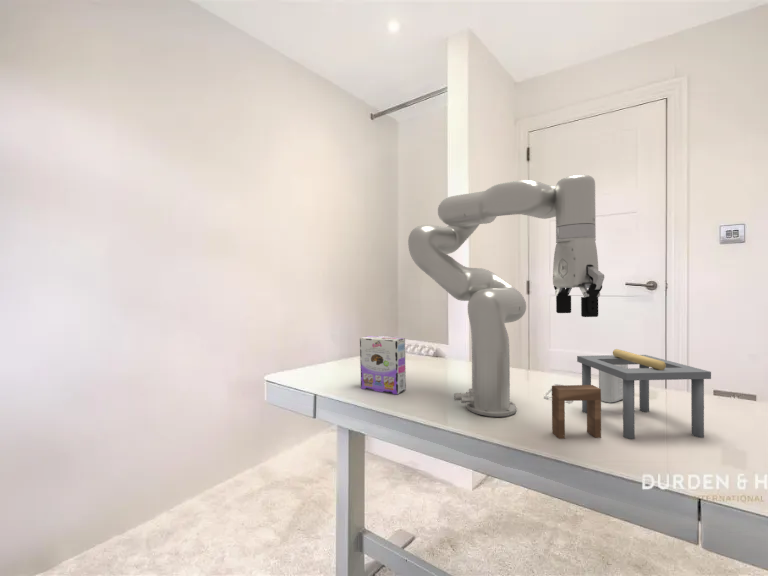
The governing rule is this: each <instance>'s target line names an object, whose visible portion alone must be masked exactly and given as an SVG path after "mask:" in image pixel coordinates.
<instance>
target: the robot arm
mask: <svg viewBox="0 0 768 576" xmlns="http://www.w3.org/2000/svg"><path fill="white" fill-rule="evenodd" d="M437 215H438V217H439V220H440V221H441V222H442V223H444V224H446V225H447V226H439V225H433V224H422V225H419V226H416V227H414V228H413V229H412V230H411V231H410V232H409V235H408V240H407V245H408V252H409V254H410V257H411V260H412V261H413V262H414V264H415V265H416V266H417V267H418V268H419V269H420V270H421V271H423V272H424V274H426V275H428V277H430V278H431V279H432V280H433V281H434V282H435V283H437V284H438V286H440V287H441V288H442V289H443V290H444V291H446V292H447V293H448V294H449V295H451V297H452V298H454V299H456V301H460V302H461V301H463V302H467V315H468V319H469V326H470V334H471V337H470V338H471V388H468V391H466V392H465V393H462V392H456V393H454V394H453V399H454V401H455V402H456V401H457V402H458V401H460V402H461V403H463V404H464V403H465V406H466V408H467V410H468V411H470V412H471V413H473V414H477V415H481V416H485V417H493V418H499V417H501V418H502V417H510V416H513V415H514V414H515V413H516V412H517V405H516V404H515V403H514V402H512V401H511V398H510V397H511V393H510V392H511V389H510V388H511V387H510V386H511V384H510V379H511V374H510V373H511V371H510V370H511V369H510V368H511V366H510V364H511V363H510V362H511V361H510V359H511V358H510V357H511V356H510V338H509V334H508V331H507V328H506V324H509V323H514V322H516V321H519V320H520V319H522V318H523V316H524V315H525V313H526V311H527V303H526V299H525V297H524V295H523V293H521V292H520V291H519V290H518V289H516V288H515V287H514V286H513V285H511V284H510V283H508V282H507V281H506V280H504V279H502V277H500V276H499V275H497V274H496V273H494V272H492V271H491V270H489V269H486V268H482V267H481V268H480V267H479V268H478V267H467V266H466V265H463V264H461V263H460V262H458V261H457V260H455V259H454V258H453V257H452V256H450V255H448V254H452V253H455V252H457V250H459V248H460V247H462V245H463V244H464V243H465V242H466V241H467V240H468V239H469V238H470V237H471V235H472V234H473V233H474V232H475V231H476V230H477V228H478V227H479V226H480V225H483V224H485V225H487V224H491V223H492V222H494V221H495V219H497V217H501V216H512V215H513V216H515V215H524V216H529V217H531V218H533V217H534V218H537V219H543V220H546V219H551V218H552V219H553V218H555V247H554V253H553V263H552V264H553V266H552V285H553V288H554V290H555V292H554V295H555V301H556V302H555V309H556V310H555V311H556V313H557V314H570V313H572V295H570V293H571V291H572V289H573V288H579V290H580V291H581V294H582V296H581V297H580V309H581V310H580V314H581V315H580V316H581V317H582V318H596V317H597V318H598V317H599V298H600V296H601V290H602V289H603V282H604V280H605V274H604V273H603V272H601V271H599V260H598V259H599V258H598V257H599V256H598V249H597V243H596V240H597V238H596V237H597V236H596V235H597V234H596V233H597V232H596V227H597V226H596V180H595V178H594V177H593V176H591V175H587V174H574V175H569V176H565V177H563V178H561V179H559V180H558V181H557V183H556V184H555V185H552V184H551V185H550V184H545V183H543V182H540V181H537V180H533V179H520V180H515V181H509V182H508V181H507V182H503V183H498V184H494V185H493V186H491V187H489V188H487V189H485V190H482V191H477V192H470V193H463V194H458V195H452V196H447V197H446V198H444V199H443V200H442V201H440V203H439V205H438V206H437Z"/></svg>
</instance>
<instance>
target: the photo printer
mask: <svg viewBox="0 0 768 576" xmlns="http://www.w3.org/2000/svg"><path fill="white" fill-rule="evenodd" d="M616 366H619V367H622V368H625V369H629V364H628V365H616ZM598 388H600V389H601V402H604V403H610V404H612V403H616V402H619V401H623V379H621V378H619V377H616V376H613V375H611V374H608V373H606V372H603V371H600V370H598Z"/></svg>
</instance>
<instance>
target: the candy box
mask: <svg viewBox="0 0 768 576" xmlns="http://www.w3.org/2000/svg"><path fill="white" fill-rule="evenodd" d="M359 359H360V360H359V361H360V362H359V363H360V365H359V368H360V389H362V390H369V391H374V392H379V393H385V394H392V395H399V394H401V393H403V392H405V391H406V390H407V384H406V379H407V378H406V377H407V376H406V375H407V374H406V373H407V371H406V369H407V368H406V338H403V337H392V336H391V337H390V336H377V335H376V336H375V335H366V336H363V337H359Z"/></svg>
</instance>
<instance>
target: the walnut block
mask: <svg viewBox="0 0 768 576" xmlns="http://www.w3.org/2000/svg"><path fill="white" fill-rule="evenodd" d="M559 385H560V386H553V385H551V387H552V391H551V397H552V398H551V432H552V433H551V434H553V435H554V436H555V437H557V438H558V439H559V440H561V439H566V421H565V418H566V416H565V414H566V413H565V410H566V404H565V403H566V401H573V402H574V401H575V402H576V401H581V402H582V401H585V400H587V413H586V432H587V433H588V434H590V435H591V437H594V438H595V439H596V438H597V439H601V438H602V401H601V389H600V388H599V386H595V385H593V384H591V385H582V384H577V385H576V384H575V385H567V384H565V385H564V384H559Z"/></svg>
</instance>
